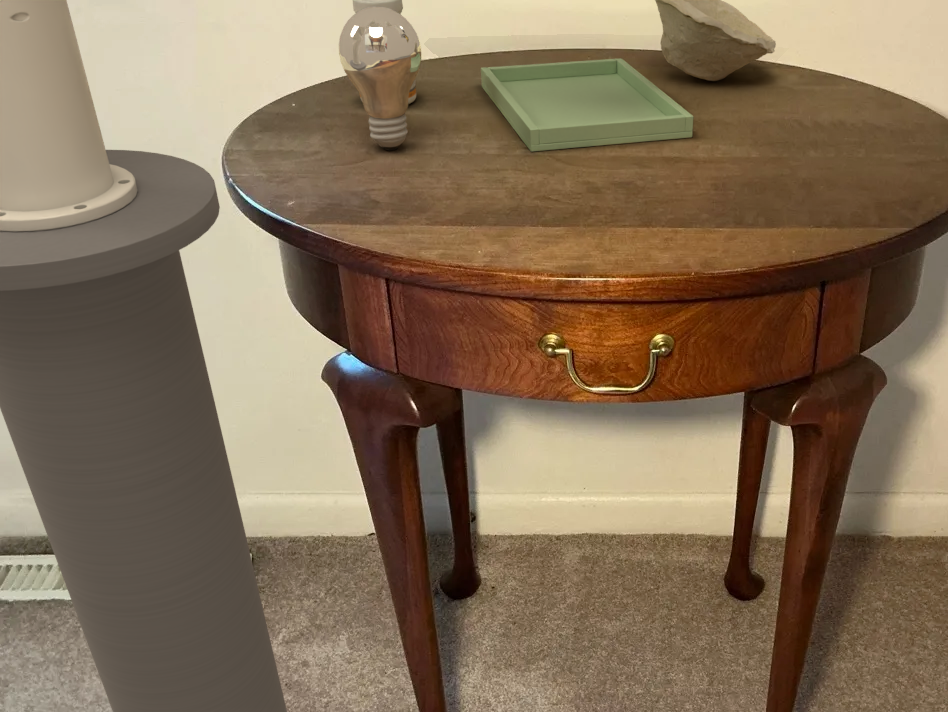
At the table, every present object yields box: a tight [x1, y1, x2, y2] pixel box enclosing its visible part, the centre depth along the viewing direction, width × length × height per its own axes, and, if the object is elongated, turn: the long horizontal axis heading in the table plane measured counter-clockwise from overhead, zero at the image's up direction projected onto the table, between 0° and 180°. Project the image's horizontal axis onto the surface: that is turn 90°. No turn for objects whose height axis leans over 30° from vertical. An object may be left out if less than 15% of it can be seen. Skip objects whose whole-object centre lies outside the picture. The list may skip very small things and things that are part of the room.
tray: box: [480, 57, 694, 153], centre depth 105 cm, size 16×22×2 cm
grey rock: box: [654, 0, 777, 82], centre depth 113 cm, size 15×14×10 cm
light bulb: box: [338, 7, 422, 151], centre depth 91 cm, size 7×7×12 cm
